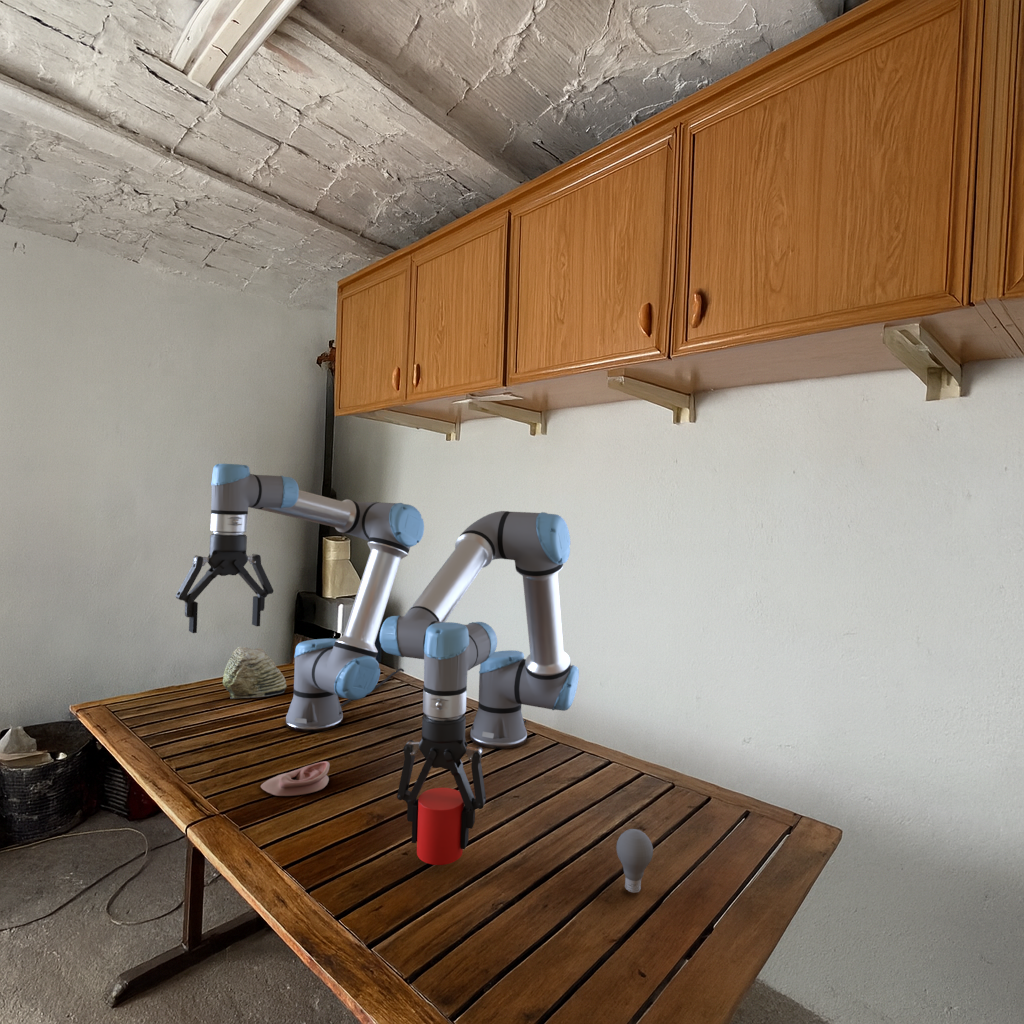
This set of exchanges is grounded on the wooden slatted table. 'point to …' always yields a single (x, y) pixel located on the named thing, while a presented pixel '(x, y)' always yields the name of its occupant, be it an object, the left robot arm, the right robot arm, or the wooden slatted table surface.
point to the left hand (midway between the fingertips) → (225, 628)
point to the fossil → (252, 674)
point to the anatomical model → (299, 780)
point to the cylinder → (439, 826)
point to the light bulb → (634, 857)
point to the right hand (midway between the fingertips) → (440, 841)
